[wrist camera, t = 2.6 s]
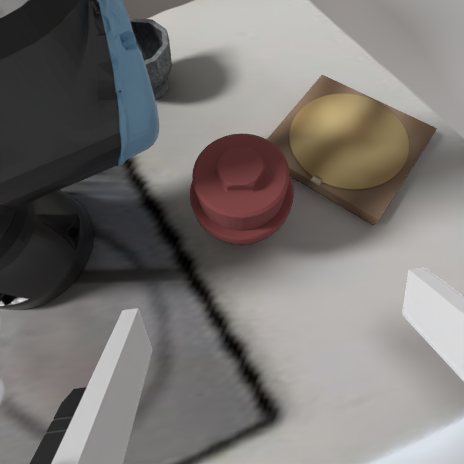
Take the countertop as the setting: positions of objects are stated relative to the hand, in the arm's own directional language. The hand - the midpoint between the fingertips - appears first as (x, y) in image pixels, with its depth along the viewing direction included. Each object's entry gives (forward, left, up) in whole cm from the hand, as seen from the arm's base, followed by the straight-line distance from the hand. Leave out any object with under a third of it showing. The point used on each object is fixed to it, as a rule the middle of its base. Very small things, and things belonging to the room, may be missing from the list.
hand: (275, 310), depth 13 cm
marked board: (-4, +25, -17) cm, 31 cm away
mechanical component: (-8, +8, -18) cm, 21 cm away
